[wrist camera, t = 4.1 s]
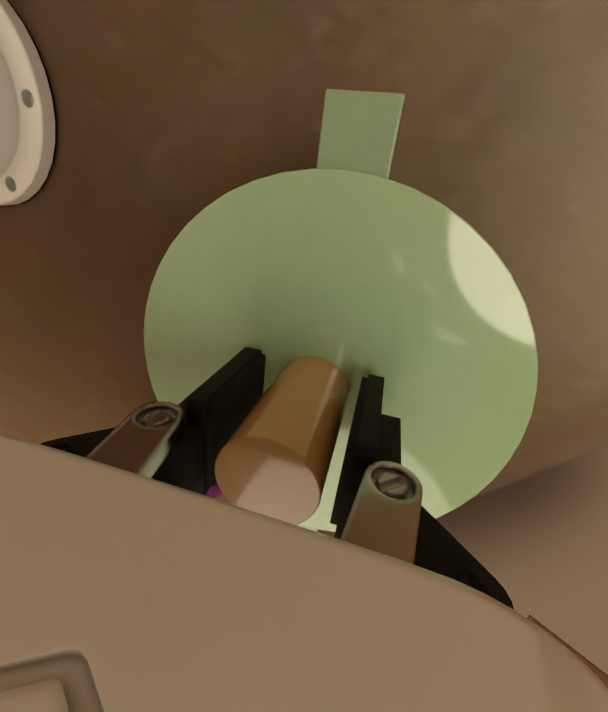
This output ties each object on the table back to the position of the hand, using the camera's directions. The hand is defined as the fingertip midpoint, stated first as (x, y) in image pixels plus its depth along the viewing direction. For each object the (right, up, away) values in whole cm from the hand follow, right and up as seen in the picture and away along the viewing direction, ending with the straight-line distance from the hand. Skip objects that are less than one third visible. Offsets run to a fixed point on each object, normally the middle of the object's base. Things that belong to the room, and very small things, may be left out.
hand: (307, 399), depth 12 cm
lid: (0, 0, +1) cm, 1 cm away
